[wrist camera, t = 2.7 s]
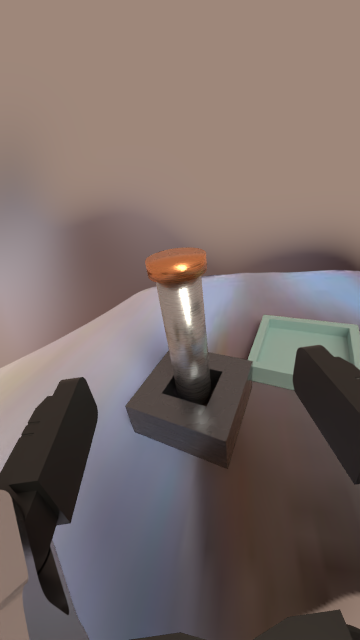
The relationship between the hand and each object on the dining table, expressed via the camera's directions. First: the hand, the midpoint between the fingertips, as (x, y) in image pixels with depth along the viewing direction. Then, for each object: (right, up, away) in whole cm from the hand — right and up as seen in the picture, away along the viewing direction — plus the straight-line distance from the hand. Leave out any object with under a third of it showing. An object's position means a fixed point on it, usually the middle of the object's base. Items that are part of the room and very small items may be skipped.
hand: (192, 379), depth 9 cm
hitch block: (+1, -8, +18) cm, 19 cm away
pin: (+1, -8, +18) cm, 19 cm away
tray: (+16, -3, +22) cm, 27 cm away
